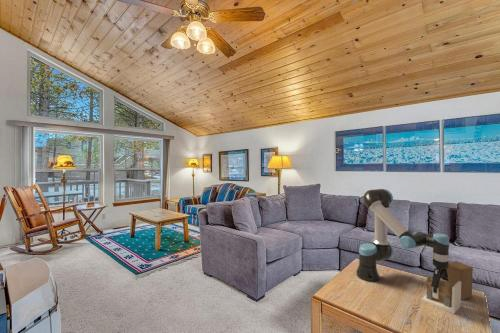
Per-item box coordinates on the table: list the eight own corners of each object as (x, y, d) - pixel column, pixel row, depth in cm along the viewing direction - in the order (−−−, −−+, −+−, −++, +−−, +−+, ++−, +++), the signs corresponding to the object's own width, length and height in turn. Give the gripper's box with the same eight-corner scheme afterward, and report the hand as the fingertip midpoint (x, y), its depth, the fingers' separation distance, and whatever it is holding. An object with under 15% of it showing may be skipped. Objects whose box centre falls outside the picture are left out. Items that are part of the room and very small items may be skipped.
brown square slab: (426, 296, 151) (427, 278, 151) (429, 294, 153) (429, 276, 153) (450, 306, 141) (451, 286, 141) (452, 304, 144) (453, 284, 143)
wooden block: (461, 300, 150) (462, 269, 149) (444, 291, 159) (445, 262, 158) (472, 298, 152) (473, 267, 151) (455, 289, 162) (456, 260, 161)
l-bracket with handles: (421, 300, 150) (422, 276, 149) (428, 293, 157) (429, 271, 156) (454, 314, 137) (454, 288, 136) (460, 306, 144) (461, 281, 143)
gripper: (440, 267, 136) (439, 304, 137) (455, 256, 151) (453, 289, 151) (425, 262, 142) (424, 297, 143) (440, 252, 157) (439, 284, 158)
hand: (439, 293), depth 147 cm, fingers open, 13 cm apart
